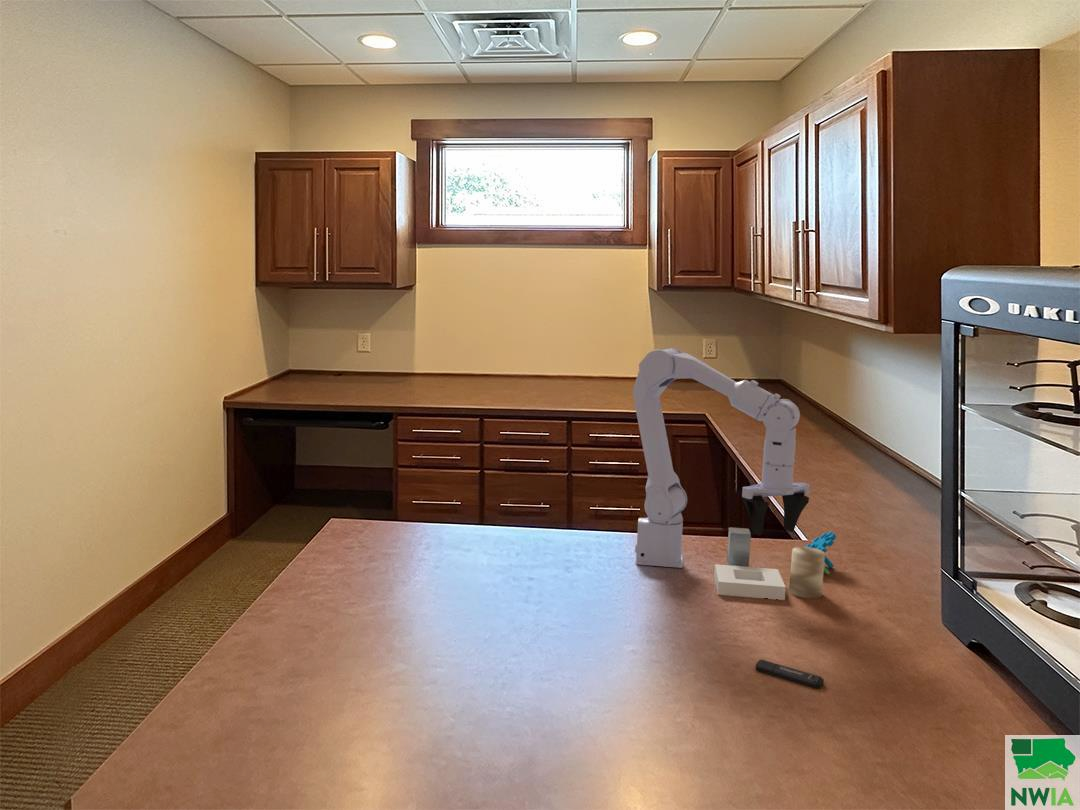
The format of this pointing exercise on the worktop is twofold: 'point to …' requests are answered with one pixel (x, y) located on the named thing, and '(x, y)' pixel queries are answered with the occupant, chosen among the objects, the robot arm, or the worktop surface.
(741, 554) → the square peg
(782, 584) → the socket block
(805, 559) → the round peg
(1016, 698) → the worktop surface
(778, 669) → the usb stick
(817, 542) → the gear
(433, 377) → the worktop surface
